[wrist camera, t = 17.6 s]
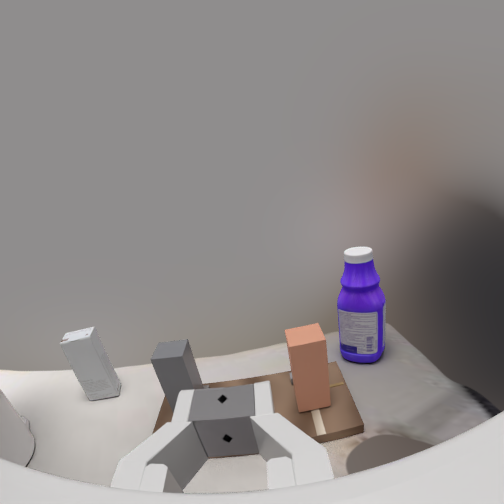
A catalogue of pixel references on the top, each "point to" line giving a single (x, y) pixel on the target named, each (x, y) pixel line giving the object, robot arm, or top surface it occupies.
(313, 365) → the plug terracotta
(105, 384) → the skincare box
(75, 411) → the top surface
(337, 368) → the wooden board
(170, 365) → the grey tall block
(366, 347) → the bottle
